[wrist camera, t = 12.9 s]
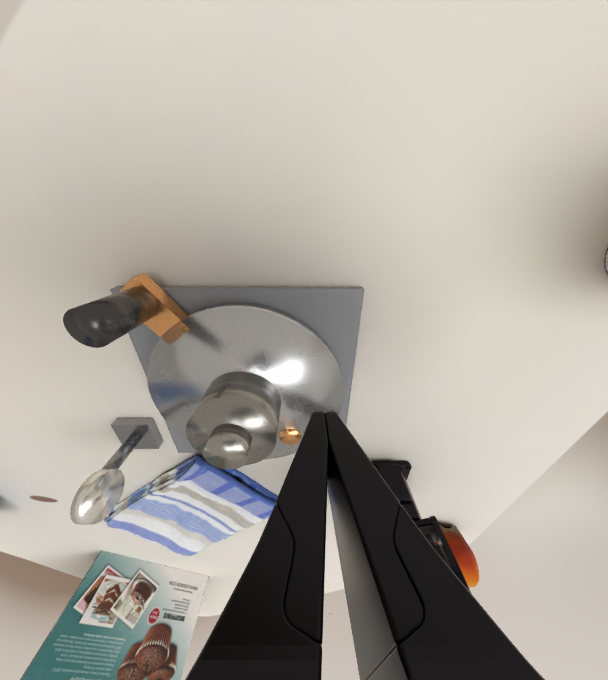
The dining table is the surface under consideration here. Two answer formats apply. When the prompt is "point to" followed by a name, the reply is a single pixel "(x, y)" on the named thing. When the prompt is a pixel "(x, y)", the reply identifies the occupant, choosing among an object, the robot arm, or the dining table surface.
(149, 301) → the turntable
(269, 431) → the stepped metal cylinder
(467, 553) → the fruit
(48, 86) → the dining table surface
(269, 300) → the plinth
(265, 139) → the dining table surface
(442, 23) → the dining table surface
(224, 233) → the dining table surface
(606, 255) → the coffee cup
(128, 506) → the dish towel
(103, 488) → the stand
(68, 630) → the cake mix box
